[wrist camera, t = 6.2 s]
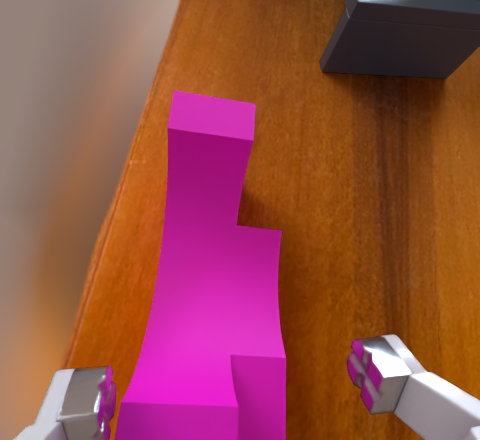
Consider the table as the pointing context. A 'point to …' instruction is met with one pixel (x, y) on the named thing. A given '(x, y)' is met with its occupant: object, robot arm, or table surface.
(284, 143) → the table surface
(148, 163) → the table surface
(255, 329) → the toy block
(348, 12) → the shelf
